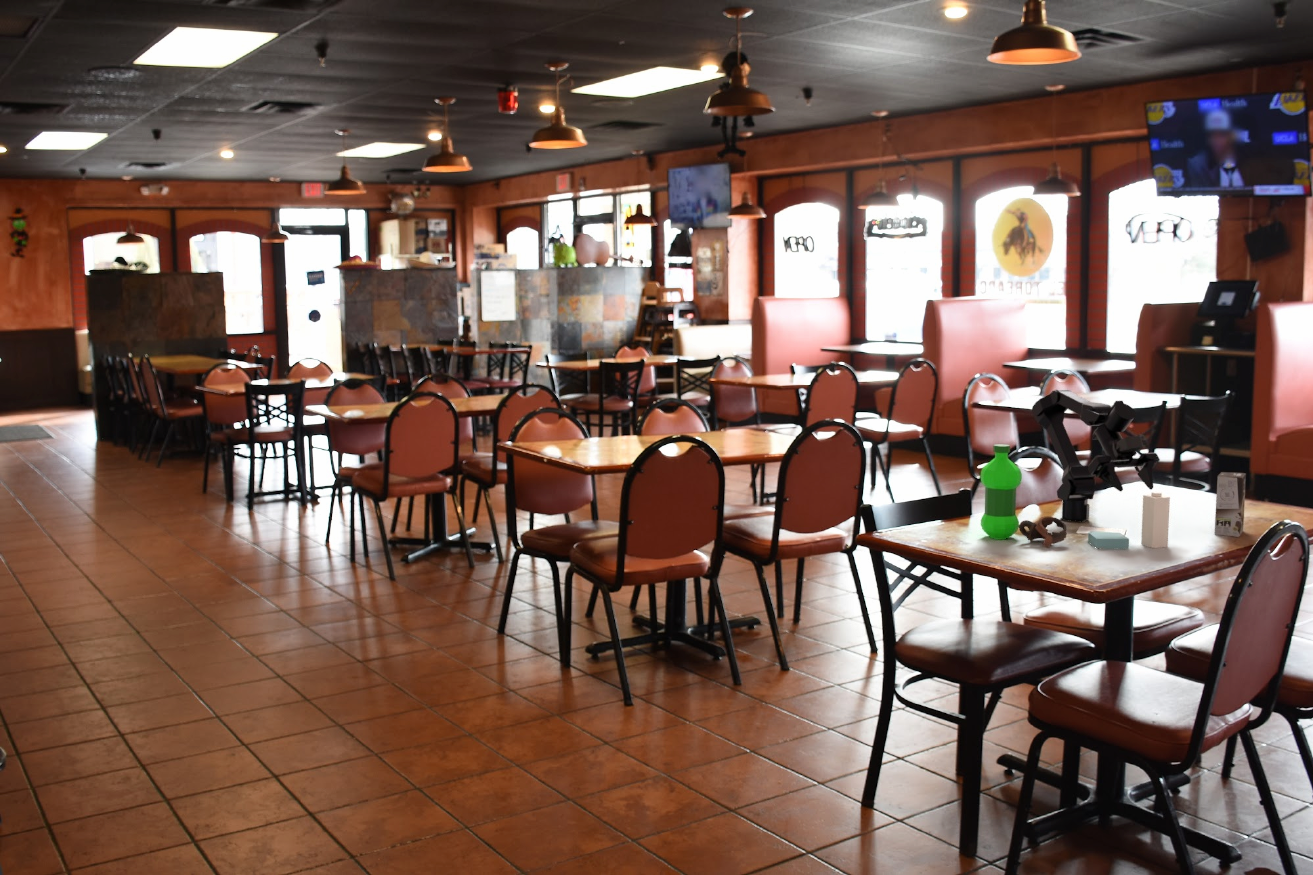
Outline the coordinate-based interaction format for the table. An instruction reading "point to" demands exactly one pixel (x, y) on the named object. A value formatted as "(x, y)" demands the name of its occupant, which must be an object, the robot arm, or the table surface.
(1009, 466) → the plastic bottle
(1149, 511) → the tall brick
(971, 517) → the table surface
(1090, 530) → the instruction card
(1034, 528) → the brown curved loop piece
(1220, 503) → the coffee box
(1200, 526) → the table surface
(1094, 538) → the base brick
